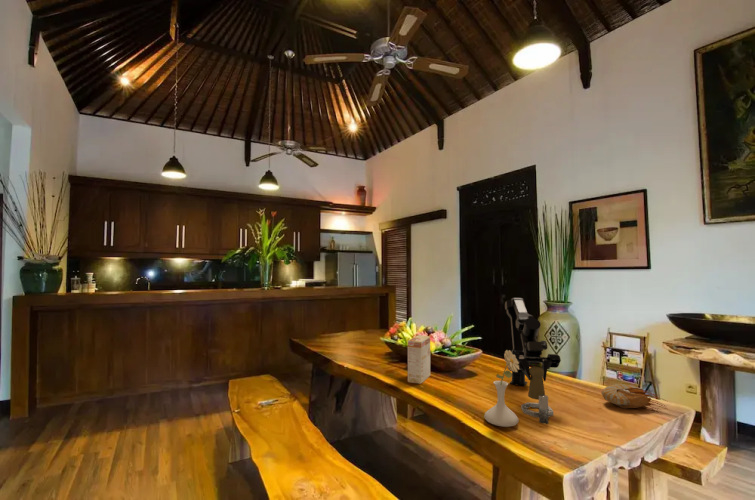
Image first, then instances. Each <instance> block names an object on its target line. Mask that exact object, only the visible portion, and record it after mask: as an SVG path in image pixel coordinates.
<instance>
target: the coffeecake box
mask: <svg viewBox="0 0 755 500" xmlns="http://www.w3.org/2000/svg"><path fill="white" fill-rule="evenodd" d="M430 376H431V336H428V335H422V334H421V335H416V336H414V337H412V338H410V339H408V340H407V382H408V383H410V384H411V383H413V384H418V385H419V384H420V385H421V384H423V383H424V381H426V380H427V379H428V378H429V377H430Z"/></svg>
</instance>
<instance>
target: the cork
mask: <svg viewBox="0 0 755 500" xmlns="http://www.w3.org/2000/svg"><path fill="white" fill-rule="evenodd" d="M529 373H530V378H531V380H529V384H528V385H529V386H528V395H527V397H528V398H530V399H533V400H538V401H539V395H546V393H545V392H546V391H545V386H544V379H543V375H544V371H543V369H542V368H541V367H539V366H531V367H529Z"/></svg>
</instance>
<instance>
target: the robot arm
mask: <svg viewBox="0 0 755 500" xmlns="http://www.w3.org/2000/svg"><path fill="white" fill-rule="evenodd" d="M504 310H506V315H507V316H508V317H509V319H510V327H511V329H510V331H511V338H512V340H511V341H512V349H511V352H512V354H513V355H515V356H516V357H515V358H516V359H517V361H518V362H519V364H518V365H519V370H518V369H517V371H518V372H515V371H514V372H513V371H511V370H510V368H509V367H508V366H507V369H508V371H510V372H511V373H512V376H511V380H510V381H509V384H510V385H515V386H518V387H519V386H520V387H525V386H526V385H527V384H528V381H530V380H531V378H530V377H531V375H530V373H529V369H530V366H531V363H541V367H540V368H542V369H543V371H544V375H543V377H542V378H543V382H546V379H547V375H548V373H547V372H548V370H550V369H551V368H555V369H556V368H559V366H560V363H561V361H562V359H561V356H560V355H559V354H557V353H556V354H555V353H547V356H546V357H545V356H543V357H542V355H543V353H542V352H543V351H546V350H547V349H548V343H547V340H541V341H538V340H537V337H538V335H539V331H540V328H541V324H542V323H541V322H540V321H539V320H538V319H537V318H535V317H534V315H532V314H529V313H528V311H527V308H526V303H525V300H524V298H522V297H512V298H511V299H507V300H506V301H505V302H504ZM526 378H527V380H528V381H526Z"/></svg>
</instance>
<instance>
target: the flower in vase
mask: <svg viewBox="0 0 755 500" xmlns="http://www.w3.org/2000/svg"><path fill="white" fill-rule="evenodd" d="M503 355H504V356H503V357H504V361H505V368H504V370H503V374H502V375H500V374H498V373H497V374H496V378H498V379H501V380H495V381H493V385H494V386H495V389H496V392H497V394H496V395H497V403H496V404H495V405H493V406H492V407H490V408H489V409H488V410H486V411H485V412H484V414H483V415H484V416H483V417H484V419H485V421H486V422H488V423H489V424H492V425H493V426H498V427H503V428H506V427H507V428H508V427H510V428H511V427H514V426H517V424H518V423H519V422H520V421H519V417H518V416H517V414H516V413H515V412H513V411H512V410H511V409H510V408H509V407H508V406H507V405H506V403H505V393H506V389H507V387H508V385H509V382H507V381H504V378H505V376H506V378H508V379H509V378H510V379H511V378H512V371H513V372H514V371H515V372H518V371H517V369H518V370H519V365H518V364H519V362H518V361H517V359H516V358H515V357H516V356H515V355H513V354H512V350H510V349H509V350H508V349H506V350H505V351H504V353H503ZM508 367H509V368H510V370H511V371H510V370H509V369H508V370H507V368H508Z"/></svg>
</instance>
